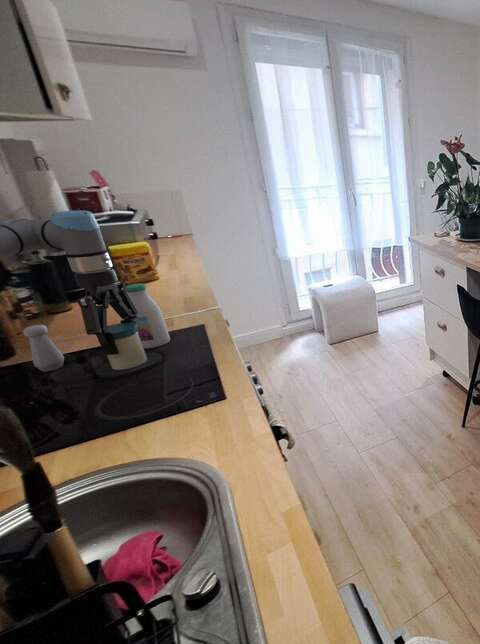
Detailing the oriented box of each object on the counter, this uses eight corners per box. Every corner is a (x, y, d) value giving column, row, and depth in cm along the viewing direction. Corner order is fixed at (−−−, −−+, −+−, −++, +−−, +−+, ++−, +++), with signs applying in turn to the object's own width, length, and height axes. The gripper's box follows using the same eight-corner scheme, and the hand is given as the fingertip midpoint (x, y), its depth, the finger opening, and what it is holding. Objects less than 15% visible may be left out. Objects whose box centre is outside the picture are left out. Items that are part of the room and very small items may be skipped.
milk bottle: (163, 337, 137) (144, 280, 130) (175, 341, 134) (156, 283, 127) (134, 346, 130) (112, 286, 123) (146, 351, 127) (124, 290, 120)
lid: (125, 338, 112) (123, 332, 111) (90, 341, 110) (88, 334, 110) (145, 327, 119) (143, 321, 119) (112, 329, 118) (110, 323, 117)
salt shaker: (32, 370, 115) (12, 328, 111) (60, 361, 120) (42, 321, 116) (44, 374, 114) (23, 332, 109) (71, 365, 119) (53, 324, 114)
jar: (109, 372, 113) (95, 338, 109) (114, 361, 119) (101, 328, 115) (145, 364, 117) (133, 331, 114) (149, 354, 123) (137, 322, 119)
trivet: (91, 383, 109) (89, 380, 109) (102, 363, 120) (101, 360, 120) (159, 369, 117) (158, 366, 117) (164, 350, 128) (163, 347, 127)
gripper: (79, 280, 99) (111, 363, 107) (137, 260, 119) (161, 331, 127) (41, 282, 98) (77, 366, 106) (106, 261, 117) (133, 333, 125)
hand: (123, 347), depth 116 cm, fingers closed on lid, 8 cm apart
